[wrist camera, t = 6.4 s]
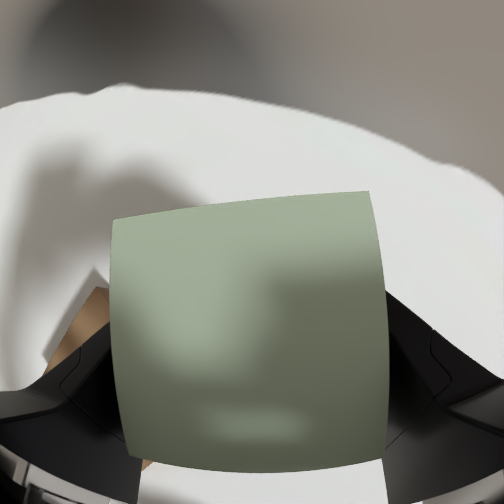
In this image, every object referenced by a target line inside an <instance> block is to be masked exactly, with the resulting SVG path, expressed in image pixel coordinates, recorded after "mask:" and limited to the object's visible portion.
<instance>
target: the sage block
mask: <svg viewBox="0 0 504 504" xmlns="http://www.w3.org/2000/svg"><path fill="white" fill-rule="evenodd" d="M109 304H110V332H111V347H112V359H113V369H114V378H115V385H116V393H117V399H118V405H119V411H120V417H121V422H122V427H123V432H124V437H125V441H126V445H127V450H128V454H129V456H133V457H136V458H140V459H145V460H149V461H153V462H158V463H163V464H168V465H174V466H180V467H186V468H194V469H202V470H211V471H222V472H239V473H282V472H299V471H310V470H320V469H328V468H335V467H341V466H347V465H353V464H358V463H363V462H367V461H372V460H376V459H380V458H384V450H385V442H386V432H387V420H388V403H389V334H388V317H387V304H386V293H385V284H384V275H383V267H382V260H381V253H380V247H379V240H378V235H377V229H376V223H375V218H374V213H373V208H372V204H371V199H370V194H369V191H360V192H341V193H325V194H311V195H299V196H287V197H276V198H265V199H256V200H246V201H237V202H229V203H220V204H212V205H205V206H197V207H190V208H183V209H176V210H169V211H162V212H156V213H150V214H144V215H138V216H132V217H126V218H120V219H115V220H113V225H112V237H111V252H110V281H109Z"/></svg>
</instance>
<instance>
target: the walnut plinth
mask: <svg viewBox="0 0 504 504" xmlns="http://www.w3.org/2000/svg"><path fill="white" fill-rule="evenodd" d="M109 321H110V304H109V289H106V288H100V287H95V289H94V290H93V292H92V293H91V295H90V296H89V298H88V299H87V301H86V302H85V304H84V305H83V307H82V308H81V310H80V312H79V313H78V315H77V316H76V318H75V319H74V321H73V323H72V324H71V326H70V327H69V329H68V331H67V332H66V334H65V336H64V337H63V339H62V341H61V343H60V344H59V346H58V348H57V350H56V351H55V353H54V355H53V357H52V359H51V360H50V362H49V364H48V366H47V368H46V370H45V372H44V374H46V373H47V372H48V371H50V370H51V369H52V368H54V367H55V366H56V365H58V364H59V363H60V362H61V361H63V360H64V359H65V358H66V357H68V356H69V355H70V354H71V353H72V352H73V351H75V350H76V349H77V348H78V347H79V346H81V345H82V344H83V343H84V342H85V341H86V340H87V339H89V338H90V337H91V336H92V335H93V334H94V333H96V332H97V331H98V330H99V329H100V328H102V327H103V326H104V325H105V324H106V323H108V322H109ZM44 374H43V375H44ZM152 462H153V461H149V460H145V459H143V463H142V470H144V469H145V468H146V467H147V466H149V465H150V464H151V463H152ZM142 470H141V471H142Z"/></svg>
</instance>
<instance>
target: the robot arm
mask: <svg viewBox="0 0 504 504" xmlns="http://www.w3.org/2000/svg"><path fill="white" fill-rule="evenodd" d="M385 293H386V304H387V317H388V334H389V403H388V420H387V432H386V442H385V450H384V458H382V464H383V470H384V476H385V482H386V489H387V497H388V504H412V503H416V502H420V501H422V503H423V504H504V379H501V378H499V377H497V376H495V375H494V374H492V373H491V372H490V371H488V370H487V369H486V368H484V367H483V366H481V365H480V364H479V363H477V362H476V361H474V360H473V359H472V358H470V357H469V356H467V355H466V354H465V353H463V352H462V351H461V350H459V349H458V348H457V347H455V346H454V345H453V344H451V343H450V342H449V341H448V340H446V339H445V338H444V337H443V336H442V335H440V334H439V333H438V332H437V331H436V330H433V328H432V327H431V326H429V325H428V324H427V323H426V322H425V321H423V320H422V319H421V318H420V317H419V316H417V315H416V314H415V313H414V312H412V311H411V310H410V309H409V308H407V307H406V306H405V305H404V304H402V303H401V302H400V301H399V300H397V299H396V298H395V297H393V296H392V295H391V294H390V293H388V292H387V291H386V290H385ZM142 463H143V459H140V458H136V457H133V456H129V454H128V450H127V445H126V441H125V437H124V432H123V427H122V422H121V417H120V411H119V405H118V399H117V393H116V385H115V378H114V369H113V359H112V347H111V332H110V321H109V322H108V323H106V324H105V325H104V326H103V327H102V328H100V329H99V330H98V331H97V332H96V333H94V334H93V335H92V336H91V337H90V338H89V339H87V340H86V341H85V342H84V343H83V344H82V345H81V346H79V347H78V348H77V349H76V350H75V351H73V352H72V353H71V354H70V355H69V356H68V357H66V358H65V359H64V360H63V361H61V362H60V363H59V364H58V365H56V366H55V367H54V368H52V369H51V370H50V371H48V372H47V373H46V374H44V375H43V376H42V377H41V378H39V379H38V380H37V381H35V382H34V383H33V384H31V385H30V386H28V387H27V388H25V389H22V390H18V391H1V392H0V504H109V501H110V498H112V499H115V500H118V501H122V502H125V503H129V504H137V500H138V491H139V484H140V477H141V470H142Z"/></svg>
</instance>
